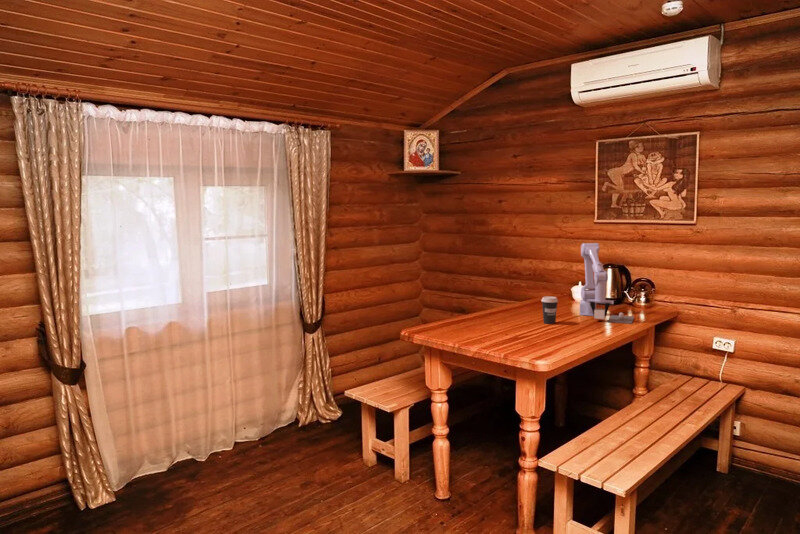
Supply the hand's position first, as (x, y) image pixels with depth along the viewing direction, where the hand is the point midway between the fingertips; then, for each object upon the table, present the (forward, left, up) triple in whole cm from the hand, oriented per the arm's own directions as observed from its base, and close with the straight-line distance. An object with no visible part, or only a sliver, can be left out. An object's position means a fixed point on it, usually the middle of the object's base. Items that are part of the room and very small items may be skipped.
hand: (599, 315), depth 334 cm
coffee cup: (-26, -15, -4) cm, 30 cm away
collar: (0, 0, -1) cm, 1 cm away
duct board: (+11, +8, -3) cm, 14 cm away
